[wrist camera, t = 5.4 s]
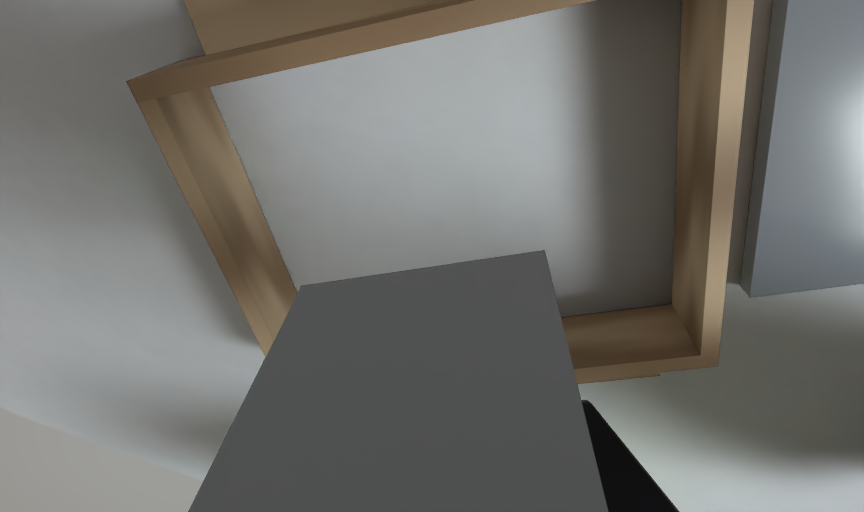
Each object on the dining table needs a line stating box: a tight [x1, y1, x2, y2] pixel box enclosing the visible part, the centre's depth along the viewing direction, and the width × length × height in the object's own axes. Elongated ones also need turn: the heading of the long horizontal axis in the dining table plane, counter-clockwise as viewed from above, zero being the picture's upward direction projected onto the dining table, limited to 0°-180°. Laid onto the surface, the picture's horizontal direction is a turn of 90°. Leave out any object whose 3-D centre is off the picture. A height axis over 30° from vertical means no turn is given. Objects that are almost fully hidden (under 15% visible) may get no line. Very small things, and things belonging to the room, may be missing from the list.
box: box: [188, 250, 608, 512], centre depth 8 cm, size 6×4×5 cm
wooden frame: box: [126, 0, 754, 384], centre depth 17 cm, size 19×16×3 cm
